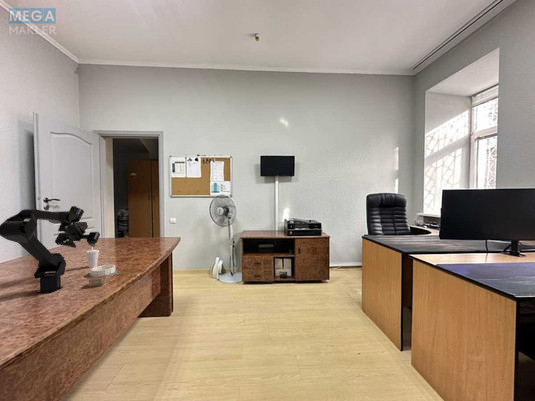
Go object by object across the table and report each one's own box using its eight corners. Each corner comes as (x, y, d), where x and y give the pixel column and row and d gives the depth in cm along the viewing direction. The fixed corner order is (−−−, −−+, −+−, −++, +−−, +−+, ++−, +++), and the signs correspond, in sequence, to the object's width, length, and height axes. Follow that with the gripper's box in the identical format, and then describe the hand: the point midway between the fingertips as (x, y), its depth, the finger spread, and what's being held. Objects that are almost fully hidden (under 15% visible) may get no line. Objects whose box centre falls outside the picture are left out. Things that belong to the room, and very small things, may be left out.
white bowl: (105, 276, 120) (105, 270, 120) (85, 276, 121) (85, 270, 121) (119, 270, 131) (119, 264, 131) (101, 270, 131) (101, 264, 131)
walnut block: (102, 287, 107) (101, 278, 107) (89, 288, 106) (88, 279, 106) (106, 283, 112) (106, 275, 112) (93, 284, 111) (93, 276, 111)
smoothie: (97, 265, 142) (97, 241, 142) (101, 267, 138) (100, 243, 138) (84, 267, 137) (84, 243, 137) (87, 269, 133) (87, 245, 133)
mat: (118, 274, 125) (118, 273, 125) (90, 279, 117) (90, 278, 117) (114, 269, 134) (114, 268, 134) (88, 273, 126) (88, 273, 126)
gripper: (97, 216, 126) (108, 234, 137) (58, 217, 123) (72, 235, 134) (89, 234, 119) (101, 250, 130) (47, 235, 115) (63, 252, 126)
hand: (85, 246), depth 130 cm, fingers open, 9 cm apart
